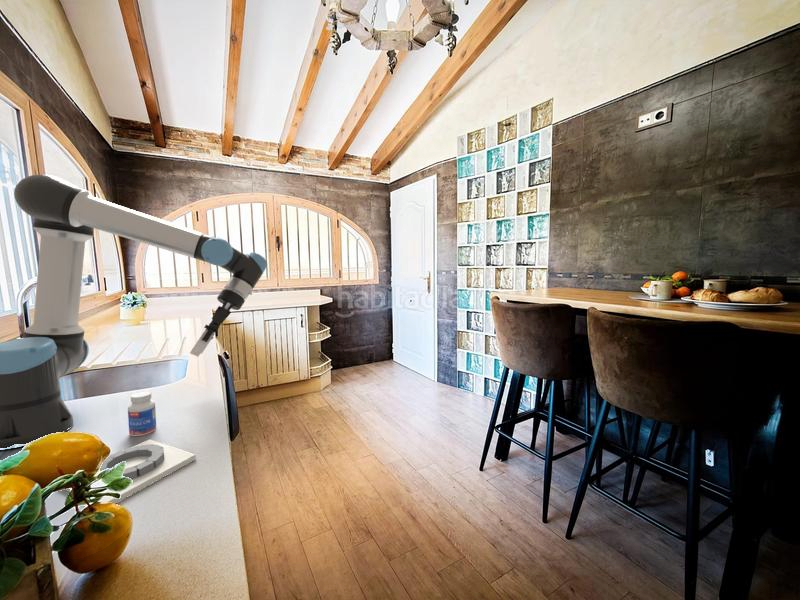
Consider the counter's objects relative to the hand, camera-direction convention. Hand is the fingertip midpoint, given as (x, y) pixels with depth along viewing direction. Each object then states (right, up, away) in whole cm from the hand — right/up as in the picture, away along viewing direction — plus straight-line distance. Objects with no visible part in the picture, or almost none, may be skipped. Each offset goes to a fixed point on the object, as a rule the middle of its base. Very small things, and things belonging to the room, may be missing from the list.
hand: (195, 353), depth 97 cm
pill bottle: (-4, -18, -15) cm, 23 cm away
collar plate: (+7, -19, -31) cm, 37 cm away
